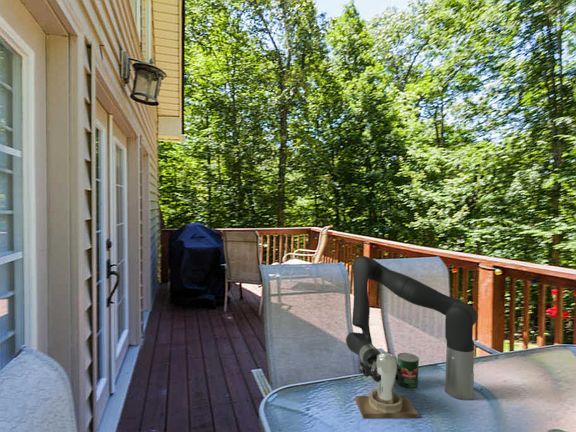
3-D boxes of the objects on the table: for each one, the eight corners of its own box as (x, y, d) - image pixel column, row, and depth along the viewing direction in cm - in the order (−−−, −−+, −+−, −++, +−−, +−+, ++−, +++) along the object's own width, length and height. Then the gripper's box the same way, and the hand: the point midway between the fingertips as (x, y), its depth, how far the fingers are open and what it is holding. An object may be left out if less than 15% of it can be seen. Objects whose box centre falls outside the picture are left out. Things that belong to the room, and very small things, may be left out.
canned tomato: (405, 391, 134) (406, 362, 133) (392, 381, 141) (393, 354, 141) (422, 388, 137) (423, 359, 136) (408, 378, 144) (409, 351, 144)
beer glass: (396, 407, 118) (398, 362, 117) (375, 404, 119) (376, 360, 119) (395, 396, 124) (396, 354, 124) (374, 394, 126) (375, 351, 125)
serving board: (405, 400, 128) (405, 388, 128) (417, 418, 117) (418, 405, 117) (355, 400, 127) (355, 388, 127) (363, 418, 116) (363, 406, 116)
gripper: (353, 348, 135) (368, 368, 118) (390, 347, 136) (410, 367, 120) (353, 368, 135) (367, 391, 119) (389, 367, 137) (409, 389, 120)
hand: (388, 379), depth 119 cm, fingers closed on beer glass, 6 cm apart
